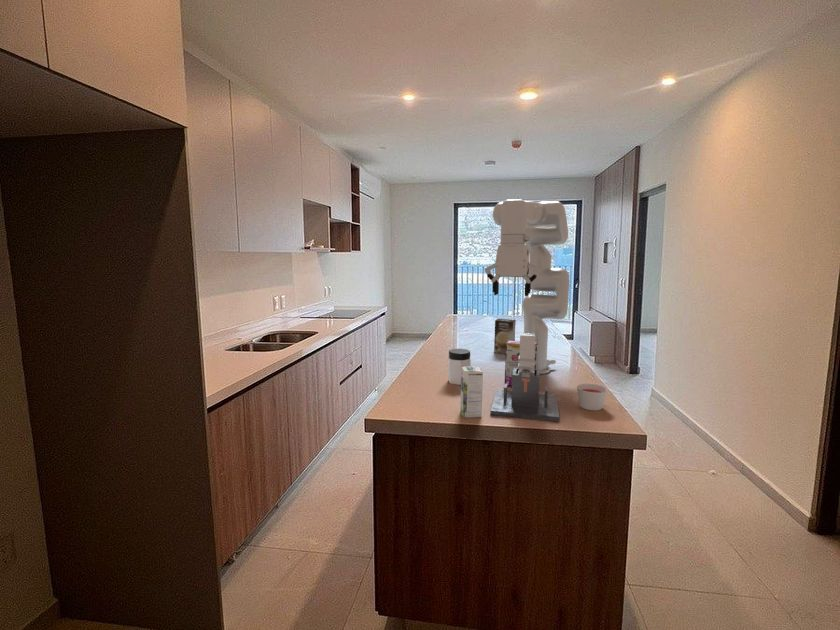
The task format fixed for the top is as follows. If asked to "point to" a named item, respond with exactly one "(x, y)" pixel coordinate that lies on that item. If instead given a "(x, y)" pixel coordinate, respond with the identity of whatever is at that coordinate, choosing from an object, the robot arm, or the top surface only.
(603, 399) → the candle
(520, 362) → the column
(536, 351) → the candy bar box
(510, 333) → the coffee box
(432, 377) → the top surface
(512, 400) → the stand base
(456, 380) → the jar
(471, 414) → the syrup box
